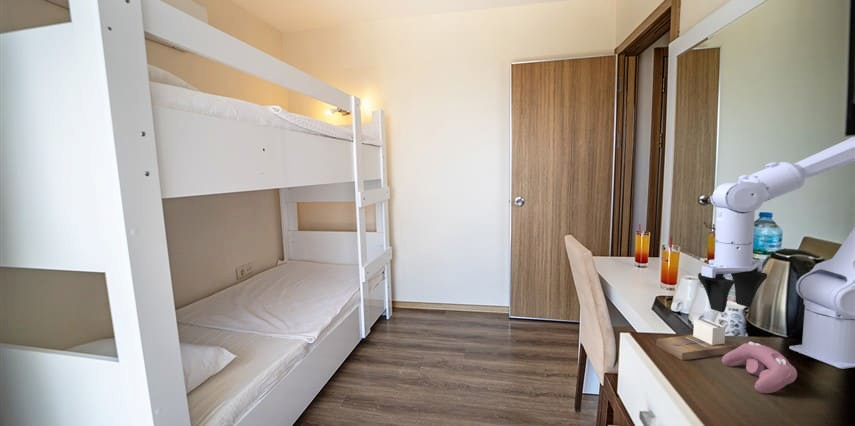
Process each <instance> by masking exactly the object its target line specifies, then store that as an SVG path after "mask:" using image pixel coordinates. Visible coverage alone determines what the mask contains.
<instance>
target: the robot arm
mask: <svg viewBox="0 0 855 426" xmlns="http://www.w3.org/2000/svg"><path fill="white" fill-rule="evenodd" d="M854 162H855V136H851V137H849V138H848V139H846V140H844V141H841V142H839V143H836V144H835V145H832V146H830V147H828V148H826V149H824V150H821V151H819V152H817V153H815V154H813V155H810V156H808V157H806V158H803V159H801V160H799V161H797V162H795V163H792V162H791V163H790V162H787V161H786V162H785V161H780V162H777V161H776V162H775V161H774V162H770V163H769V162H768V163H767V164H765V166H764V167H765V168H763V169H762V170H757V172H753V173H751V174H749V175H748V174H742V175H740V176H738V179H737V182H724V183H722V184H720V185H718V186H717V187H716V189H714V190H713V193H712V195H710V196H709V201H710V202H711V205H712V206H713V207H714V208H715V209H716V214H715V232H714V233H715V234H714V235H715V236H714V259H709V260H708V264H706V265H702V266H701V272H700V273H698V274H697V279H698V280H699V282H700V283H701V284H702V286H703V288H704V291H705V293H706V295H707V299H708V303H709V306H710V309H711V310H713V311H716V312H719V313H724V312H725V311H726V308H727V303H728V300H729V299H728V297H729V294H730V291H731V289H732V287H733V286H734V293H735V295H734V296H735V302H736V304H737V305H740V306H744V307H747V308H750V307H752V304H753V302H754V299H755V296H756V294H757V292H758V290H759V288H760V287H761V285H762V284H763V283H764V282H765V281H766V279H768V273H766V272H761V271H763V262H764V261H762V260H757V259H753V256H754V254H753V253H754V240H755V239H754V238H755V237H754V236H755V235H754V234H755V215H756V213H755V212H756V211H757V210H758V209H760V207H762V205H763V204H764V203H765V202H768V201H771V200H772V199H775V198H777V197H780V196H783V195H787V194H788V193H791V192H794V191H796V190H798V189H801V188H802V187H803V186H804V184H805V181H806V179H809V178H811V177H814V176H817V175H820V174H823V173H825V172H829V171H830V170H833V169H836V168H839V167H843V166H845V165H849V164H851V163H854ZM725 275H731V277H732V279H728V278H726V276H725ZM795 285H796V286H795V289H796V293H797V294H798V295H799V296H800V298H802V299H803V306H804V313H803V314H804V316H803V329H802V330H803V331H802V342H801V344H796V345H789V349H790V350H792V351H794V352H798V353H799V354H802V355H805V356H807V357H810V358H812V359H815V360H817V361H820V362H823V363H824V364H828V365H830V366H834V367H835V368H837V369H843V370H844V369H850V368H855V226H854V228H853V229H852V230H851V232H849V234H848V236H847V237H846V238H845V240H844V241H843V243H842V244H841V246H840V247H839V248H838V250H837V251H836V253H835V254H834V255H833V257H831V258H830V259H827V260H824V261H821V262H818V263H816V264H815V265H814V266H813V268H811V270H810V271H809V272H807V273H805V274H803V275H802V276H800V277H799V279H798V280H797V281H796V284H795Z"/></svg>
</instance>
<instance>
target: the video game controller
mask: <svg viewBox="0 0 855 426" xmlns="http://www.w3.org/2000/svg"><path fill="white" fill-rule="evenodd" d="M721 363H722V364H723V365H724V366H725V367H737V366H740V365H741V366H742V365H743V364H745V365H746V366H745V369H746V372H748V373H750V374H752V375H754V376H756V377H758V379H757V380H756V382H755V383H754V389H755V391H757V393H760V394H771V393H775V392H777V391H779V390H781V389H783V388H784V387H785V386H788V385H790V384H793V382H795V381H796V379H797V377H798V372H797V369H796V368H795V366H794V365H792V364H791V363H790V362H789V360H788V359H787V358H786V357H785V356H784V355H783V354H781V353H780V352H779V351H777V350H776V349H773V348H772V347H769V346H767V345H763V344H760V343H756V342H753V341H748V342H745V343H742V344H741V345H740V346H739V345H738V348H736V349H735V350H732V351H730V352H728V353H727V354H725V355H722V358H721ZM765 367H766V368H767V369H765Z"/></svg>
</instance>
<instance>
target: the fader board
mask: <svg viewBox="0 0 855 426" xmlns="http://www.w3.org/2000/svg"><path fill="white" fill-rule="evenodd" d="M655 342H656V345H655V346H656V347H657V346H658V347H657V348H659V349H661V350H663V351H664V352H666V353H668V354H670V355H672V356H674V357H675V358H677V359H679V360H680V361H686V360H695V359H702V358H709V357H717V356H724V355H725V354H727V353H728V352H730V351H732V350H735V349H736V348H738V347H739V345H737V344H736V343H733V342H731V341H729V340H726V339H725V343H724V344H716V345H711V344H709V343H707V342H704V341H702V340H700V339H698V338H696V337H694V336H693V334H688V335H680V336H671V337H664V338H656V341H655Z"/></svg>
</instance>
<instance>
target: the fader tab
mask: <svg viewBox="0 0 855 426" xmlns="http://www.w3.org/2000/svg"><path fill="white" fill-rule="evenodd" d="M692 335H693V336H694V337H696V338H698V339H700V340H702V341H704V342H707V343H709V344H711V345H716V344H724V343H725V340H726V326H724V325H723V324H720V323H716V322H714V321H712V320H710V319H707V318H705V319H704V318H699V319H695V320H693V333H692Z"/></svg>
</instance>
